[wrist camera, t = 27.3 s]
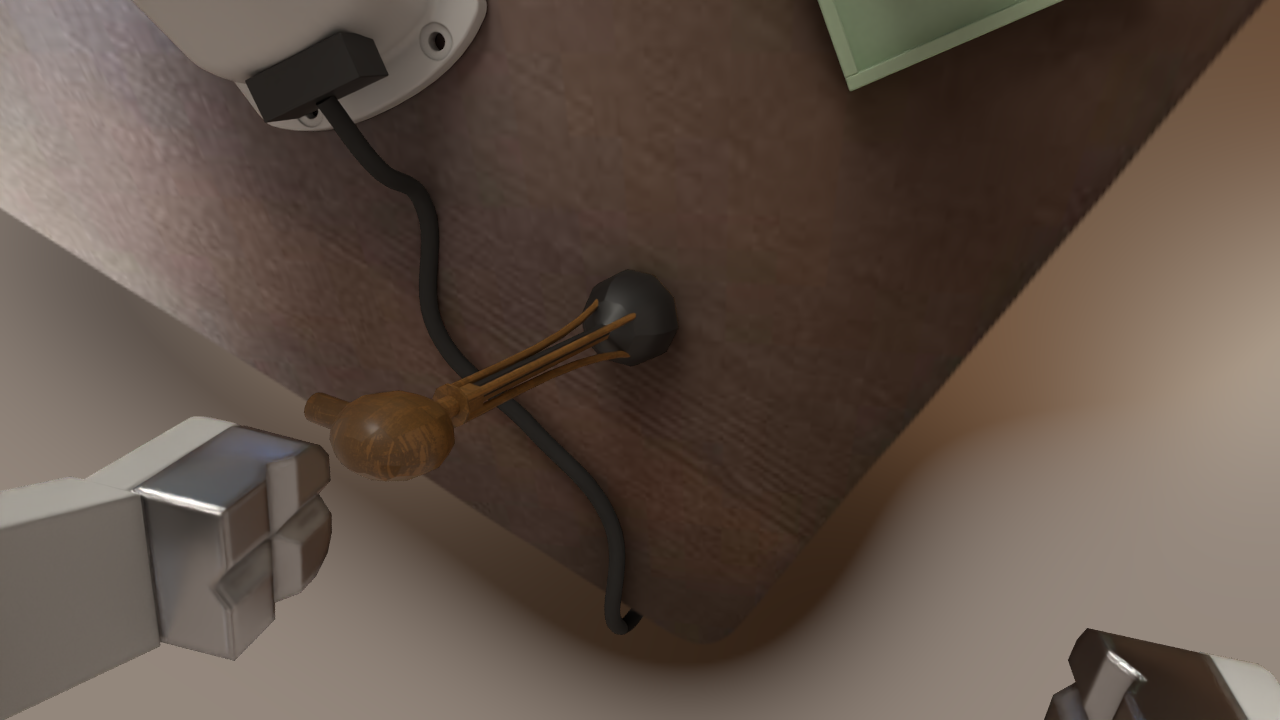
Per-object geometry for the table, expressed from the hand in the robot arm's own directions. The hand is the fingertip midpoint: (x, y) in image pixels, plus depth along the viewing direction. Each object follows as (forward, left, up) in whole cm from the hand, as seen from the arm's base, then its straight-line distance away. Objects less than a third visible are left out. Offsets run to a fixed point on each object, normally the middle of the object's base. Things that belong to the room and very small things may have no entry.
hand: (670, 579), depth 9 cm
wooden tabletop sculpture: (-3, +11, -33) cm, 34 cm away
